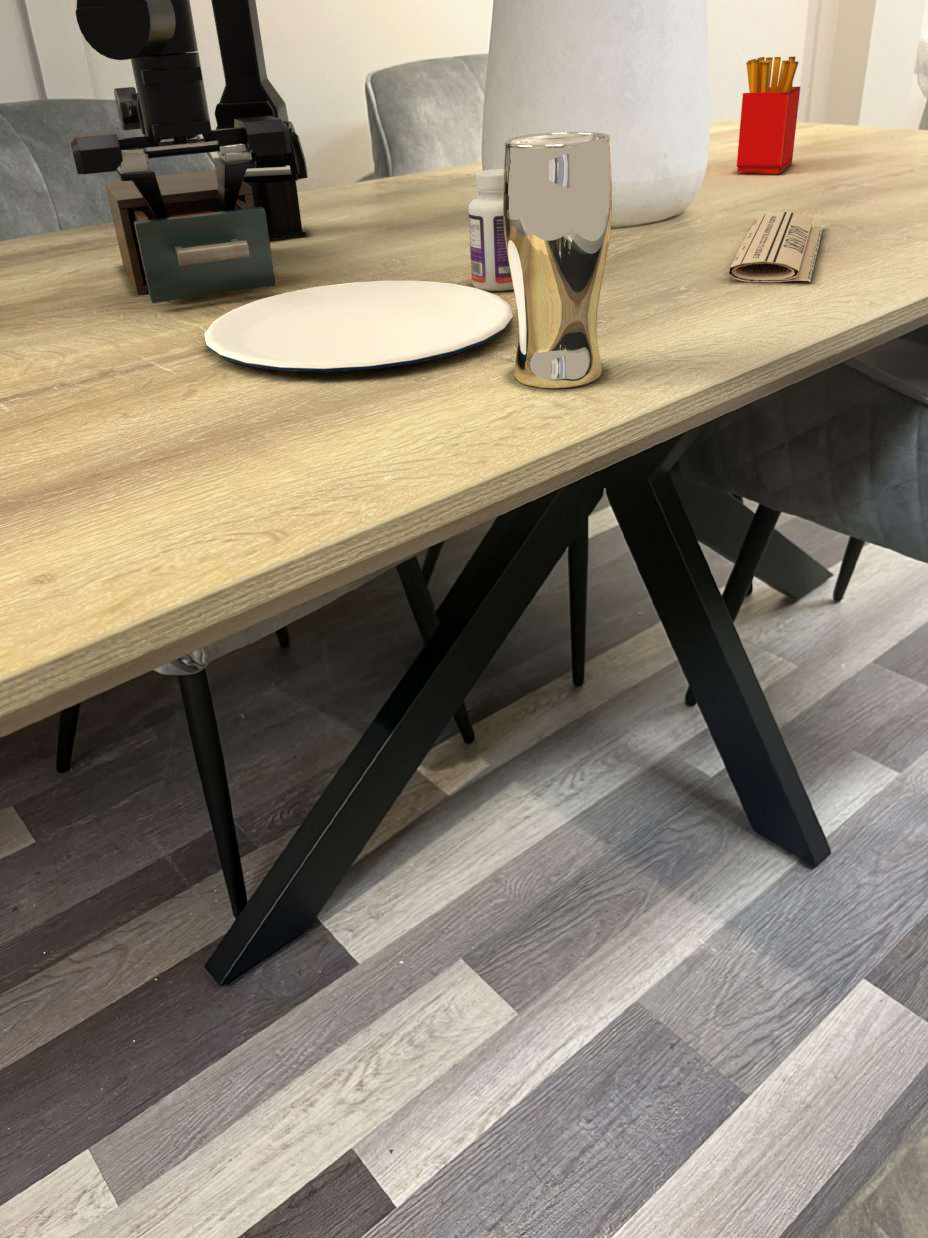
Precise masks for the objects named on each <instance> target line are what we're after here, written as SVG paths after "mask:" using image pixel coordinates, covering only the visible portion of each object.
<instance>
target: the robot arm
mask: <svg viewBox="0 0 928 1238" xmlns="http://www.w3.org/2000/svg"><path fill="white" fill-rule="evenodd" d="M210 2H211V7H212V13H213V18H214V24H215V29H216V36H217V41H218V48H219V53H220V59H221V66H222V69H223V76H224V77H223V78H224V83H225V86H224V88H223V90H222V93H221V96H220V99H219V102H218V103H216V106H215V108H214V118H215V121H216V122H215V123H216V127H215V129H212V124H211V118H210V113H209V106H208V101H207V95H206V87H205V84H204V78H203V77H204V76H203V71H202V66H201V65H202V64H201V59H200V53H199V48H198V47H199V46H198V42H197V36H196V30H195V24H194V18H193V13H192V6H191V0H76V9H75V17H76V23H77V25H78V28H79V31H80V33H81V34H82V36H83V38H84V40H85V41H86V42H87V44H88V45H89V46H90V47H91V49H93V50H94V51H95V52H97V53H98V54H99V55H101V56H102V57H105V58H107V59H110V60H114V61H115V60H116V61H127V60H130V62H131V67H132V72H133V76H134V83H135V87H136V88H135V87H134V86H129V87H127V86H126V87H116V88H114V89H113V94H114V99H115V104H116V109H117V114H118V119H119V123H120V127H121V129H122V130H123V131H133V130H140V131H141V134H142V135H143V136H133V137H121V138H119V137H118V134H117V133H116V132H115V131H114V130H113V129H110V130H99V131H88V132H77V133H75V132H74V133H72V135H71V137H70V138H69V139H68V146H69V151H70V155H71V159H72V164H73V167H74V170H75V171H76V174H77V175H91V174H101V173H111V172H115V173H116V176H117V178H118V180H121V181H132V182H133V183H134V185H135V186H136V187H137V189H138V190H139V192H140V193H141V195H142V196H143V198H144V199H145V201H146V203H147V204H148V206H149V208H150V210H151V212H152V214H153V216H154V218H155V219H162V218H168V215H167V212H166V208H165V205H164V202H163V198H162V195H161V192H160V188H159V185H158V182H157V179H156V176H157V175H156V172H155V171H154V170H153V169H152V168H151V167H149V163H150V159H157V158H168V157H179V156H187V155H198V154H209V153H216V154H217V155H218V157H213V163H214V168H215V169H214V170H216V175H217V182H218V183H217V184H218V199H219V212H222V211H231V210H235V209H236V203H237V199H238V195H239V192H240V189H241V185H242V182H243V181H244V182H246V183H247V184H249V185H251V189H252V195H253V202H254V208H256V207H263V208H264V209H265V214H266V221H267V228H268V234H269V241H271V240H280V239H288V238H294V237H304V236H306V235H307V230H306V229H304V228H303V225H302V216H301V210H300V203H299V202H300V201H299V195H298V187H297V182H298V181H300V180H303V179H307V178H308V177H309V176H308V168H307V162H306V157H305V154H304V150H303V146H302V143H301V140H300V136H299V135H298V134H297V132H296V130H295V126H294V124H293V122H292V121H290V120H289V115H288V109H287V104H286V102H285V101H284V99H283V97H282V96H281V95H280V93H279V92H278V91H277V89H276V88H275V86H274V85H273V84H272V83H271V81H270V80H269V78H268V74H267V68H266V60H265V54H264V48H263V47H264V46H263V41H262V35H261V28H260V27H261V26H260V20H259V13H258V9H257V1H256V0H210ZM197 136H202V137H201V138H197ZM165 140H166V141H165ZM167 140H169V141H167ZM288 166H289V169H287V168H286V167H288ZM271 168H272V169H271ZM273 168H286V169H273ZM251 169H252V170H251ZM253 169H265V170H253ZM268 169H270V170H268ZM247 170H248V171H247Z"/></svg>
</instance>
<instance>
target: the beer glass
mask: <svg viewBox="0 0 928 1238" xmlns="http://www.w3.org/2000/svg"><path fill="white" fill-rule="evenodd" d="M611 160H612V159H611V136H610V135H609V134H607V133H605V132H604V133H603V132H595V131H555V132H553V131H552V132H541V133H532V134H524V135H518V136H514V137H510V138H507V139H505V140H504V161H503V169H504V178H503V219H504V235H505V242H506V249H507V255H508V261H509V266H510V271H511V277H512V282H513V287H514V290H513V292H514V296H515V297H514V298H515V303H516V309H517V317H518V340H517V341H518V342H517V349H516V354H515V360H514V361H515V362H514V370H513V371H514V372H513V374H514V377H515V379H516V380H517V381H518V382H519V383H522V384H523V385H526V386H530V387H533V388H542V389H568V388H569V389H570V388H576V387H581V386H584V385H588V384H591V383H593V382H594V381H596V380H598V379H599V378H600V377H601V375H602V372H603V369H602V360H601V354H600V347H599V343H598V329H597V328H598V323H597V320H598V309H599V302H600V296H601V290H602V285H603V280H604V275H605V271H606V270H605V269H606V265H607V258H608V252H609V246H610V239H611V230H612V214H613V181H612V161H611Z"/></svg>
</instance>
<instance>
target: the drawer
mask: <svg viewBox="0 0 928 1238" xmlns="http://www.w3.org/2000/svg"><path fill="white" fill-rule="evenodd" d="M164 205H165V208H166V212H167V215H168V218H162V219H155V218H154V216H153V214H152V212H151V210H150V208H149V206H144V207H136V208H130V213H131V218H132V222H133V227H134V232H135V236H136V241H137V245H138V250H139V255H140V259H141V264H142V269H143V271H144V273H145V276H146V281H147V285H148V290H149V293H148V296H149V299H150V302H151V303H152V304H157V303H164V302H171V301H173V302H174V301H180V300H186V299H194V298H201V297H207V296H208V297H209V296H214V295H221V294H222V295H223V294H227V293H235V292H241V291H249V290H250V291H251V290H257V289H263V288H271V287H276V286H277V282H276V275H275V269H274V263H273V256H272V247H271V242H270V241H271V240H269V234H268V228H267V221H266V214H265V209H264V208H263V207H256V208H251V207H249V206H248V205H247V204H245V203H244V202H242V201H241V200H240V199H237V203H236V209H235V210H231V211H222V212H219V199H218V198H215V199H206V200H197V201H189V202H180V203H171V204H164ZM209 211H213V212H214V213H205V214H196V215H188V216H179V217H171V218H170V216H175V215H183V214H192V213H200V212H209Z"/></svg>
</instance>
